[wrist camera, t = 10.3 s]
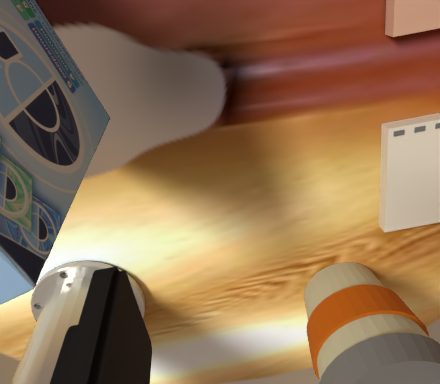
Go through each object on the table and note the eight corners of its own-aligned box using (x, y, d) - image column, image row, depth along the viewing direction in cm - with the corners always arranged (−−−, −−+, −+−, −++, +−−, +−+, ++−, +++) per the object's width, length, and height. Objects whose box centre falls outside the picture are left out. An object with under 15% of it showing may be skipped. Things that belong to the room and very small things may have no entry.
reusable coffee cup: (296, 336, 53) (333, 457, 40) (282, 263, 47) (321, 377, 34) (391, 315, 52) (460, 431, 39) (389, 238, 46) (471, 344, 33)
